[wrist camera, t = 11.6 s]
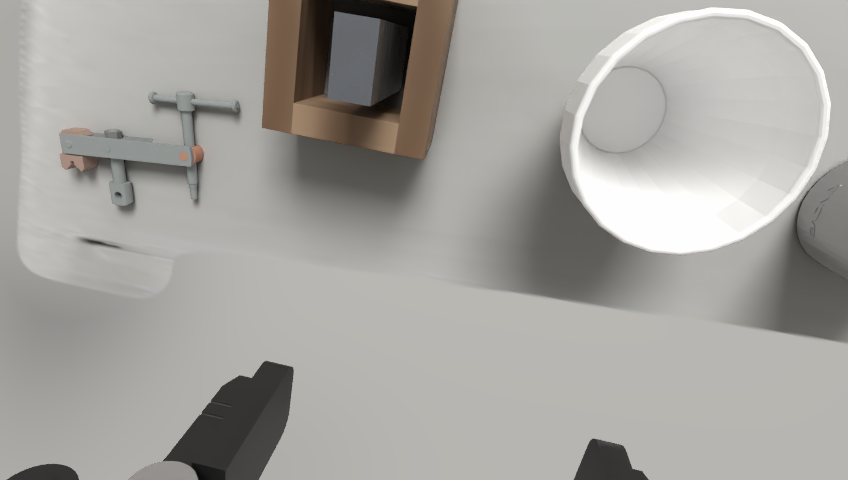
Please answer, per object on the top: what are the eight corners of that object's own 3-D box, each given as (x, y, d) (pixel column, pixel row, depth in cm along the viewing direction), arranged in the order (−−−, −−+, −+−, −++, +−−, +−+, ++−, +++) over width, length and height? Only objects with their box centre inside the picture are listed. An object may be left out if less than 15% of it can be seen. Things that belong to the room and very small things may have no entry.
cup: (695, 187, 39) (804, 255, 26) (535, 192, 40) (563, 259, 27) (719, 15, 34) (863, -5, 22) (538, 27, 36) (574, 15, 23)
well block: (460, -12, 35) (456, -25, 29) (431, 141, 39) (423, 159, 33) (309, -40, 35) (272, -60, 29) (296, 114, 40) (262, 127, 33)
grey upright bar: (409, 28, 36) (380, 19, 25) (400, 89, 38) (370, 106, 27) (350, 18, 37) (296, 4, 25) (344, 79, 38) (291, 92, 27)
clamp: (67, 202, 42) (44, 80, 39) (86, 195, 44) (66, 78, 41) (238, 221, 42) (232, 98, 38) (249, 213, 44) (244, 96, 40)
